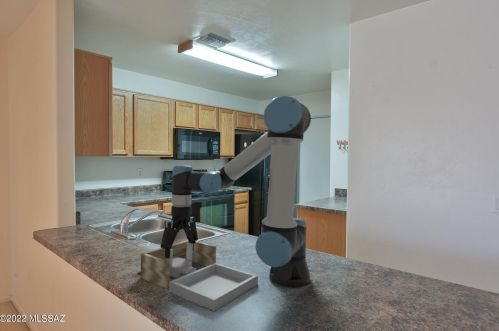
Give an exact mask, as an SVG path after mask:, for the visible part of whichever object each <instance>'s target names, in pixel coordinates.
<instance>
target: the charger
mask: <svg viewBox="0 0 499 331" xmlns="http://www.w3.org/2000/svg"><path fill="white" fill-rule="evenodd" d="M194 271H197V267H193V262H192V261H191V260H187V259H183V258H179V257H173V261H172V267H170V278H172V279H177V278H180V277H182V276H185V275H187V274H190V273H192V272H194Z"/></svg>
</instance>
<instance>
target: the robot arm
mask: <svg viewBox="0 0 499 331" xmlns="http://www.w3.org/2000/svg"><path fill="white" fill-rule="evenodd" d="M263 120H264V121H263V122H264V124H265V126H266V128H267V131H266V132H265V133H263V134H262V135H261V136H260V137H259V138H257V139H256V140H255V141H254V142H252V143H251V144H250V145H249V146H247V147H246V148H245V149H244V150H242V151H240V153H239V154H237V155H236V156H234V157H233V158H232V159H230V161H228V162H227V163H226V164H225V165H223V166H222V167H221V168H219V169H218V170H213V171H194V170H193V166H192V165H174V166H173V167H172V175H171V207H170V208H171V210H170V212H171V213H170V215H171V220H169V221H167V220H166V221H164V230H163V232H162V233H163V234H162V238H161V243H160V247H159V248H163V249H165V258H166V261H169V262H170V267H172V261H173V249H171V248H172V245H173V244H175V240H176V238H177V236H178V233H180V231H181V230H183V231H184V234H185V236H186V239H187V240H188V241H189V243H187V253H186V259H188V260H192V254H193V250H194V244H195V243H196V241H198V240H199V238H198V231H197V224H196V223H197V218H196V217H194V216H191V214H192V192H200V193H206V194H210V193H213V194H215V193H218V192H219V190H225V189H229V188H230V187H232V186H233V185H234V183H235V181H237V180H238V179H239V178H241V177H242V176H244V175H245V174H246V173H247V172H248V171H250V170H251V169H253V168H254V167H256V166H257V165H258V164H260V163H261V162H262V161H263V160H264V159H266V158H268V156H270V164H269V177H268V180H269V181H268V194H267V195H268V196H267V210H266V217H264V218H263V219H262V220H261V232H260V234H259V235H258V237H257V239H256V241H255V253H256V255H257V256H258V258H259V259H260V260H261V262H263V264H265V265H267V266H269V267H270V270H269V278H268V279H269V280H270V281H271V283H273V284H274V285H276V286H280V287H284V288H300V287H301V288H302V287H305V286H307V285H308V284H310V282H311V273H310V268H309V267H308V263H307V259H306V256H307V255H306V251H307V249H306V248H307V228H308V227H307V222H306V220H305V219H303V218H299V217H294V211H295V210H294V208H295V197H296V196H295V193H296V181H297V164H298V151H299V145H300V144H301V143H303V141H304V135H305V133H306V132H307V130H308V129H309V127H310V125H311V122H312V115H311V112H310V111H309V109H308V107H307V106H305V104H303V103H301V102H300V101H299V100H298V99H297V98H295V97H292V96H289V95H279V96H277V97H274V98H273V99H271V100H270V101H269V102H268V104H267V105H266V106H265V109H264V110H263Z"/></svg>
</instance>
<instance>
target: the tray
mask: <svg viewBox="0 0 499 331" xmlns="http://www.w3.org/2000/svg"><path fill="white" fill-rule="evenodd" d="M258 284H259V275H257V274H254V273H251V272H248V271H245V270H240V269H237V268H234V267H231V266H227V265H224V264H221V263H218V262H216V263H214V264H211V265H209V266H204V267H202V268H200V269H196V271H194V272H192V273H190V274H187V275H183V276H181V277H179V278H174V279H173V280H170V282H169V288H168V289H169V292H168V293H170V294H173V295H175V296H176V297H179V298H182V299H184V300H187V301H188V302H191V303H193V304H195V305H197V306H200V307H202V308H205V309H206V310H209V311H211V312H213V313H214V312H216V311H218V310H219V309H221V308H222V307H225V306H226V305H228V304H230V303H231V302H232V301H234V300H236V299H238V298H239V297H241V296H243V295H244V294H246V293H248V292H249V291H251V290H252V289H254V288H256V287H258V286H259V285H258Z"/></svg>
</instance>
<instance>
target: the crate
mask: <svg viewBox="0 0 499 331" xmlns="http://www.w3.org/2000/svg"><path fill="white" fill-rule="evenodd" d="M187 243H189V241H188V239H187V240H183V241H179V242H177V243H173V245H172V248H171V249H173V257H179V258H183V259H186V253H187ZM187 260H188V259H187ZM191 261H192V263H195V264H198V265H202V266H204V267H207V266H209V265H211V264H214V263H217V245H214V244H210V243H206V242H202V241H198V240H197V241H196V243H195V244H194V250H193V254H192V260H191ZM140 278H141V279H143V280H145V281H148V282H151V283H153V284H154V285H158V286H160V287H161V288H164V289H166V290H167V289H169V282H170V281H171V277H170V262H169V261H166V258H165V249H163V248H161V247H159V248H157V249H156V248H155V249H152V250H149V251H148V250H147V251H145V252H141V253H140Z"/></svg>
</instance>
